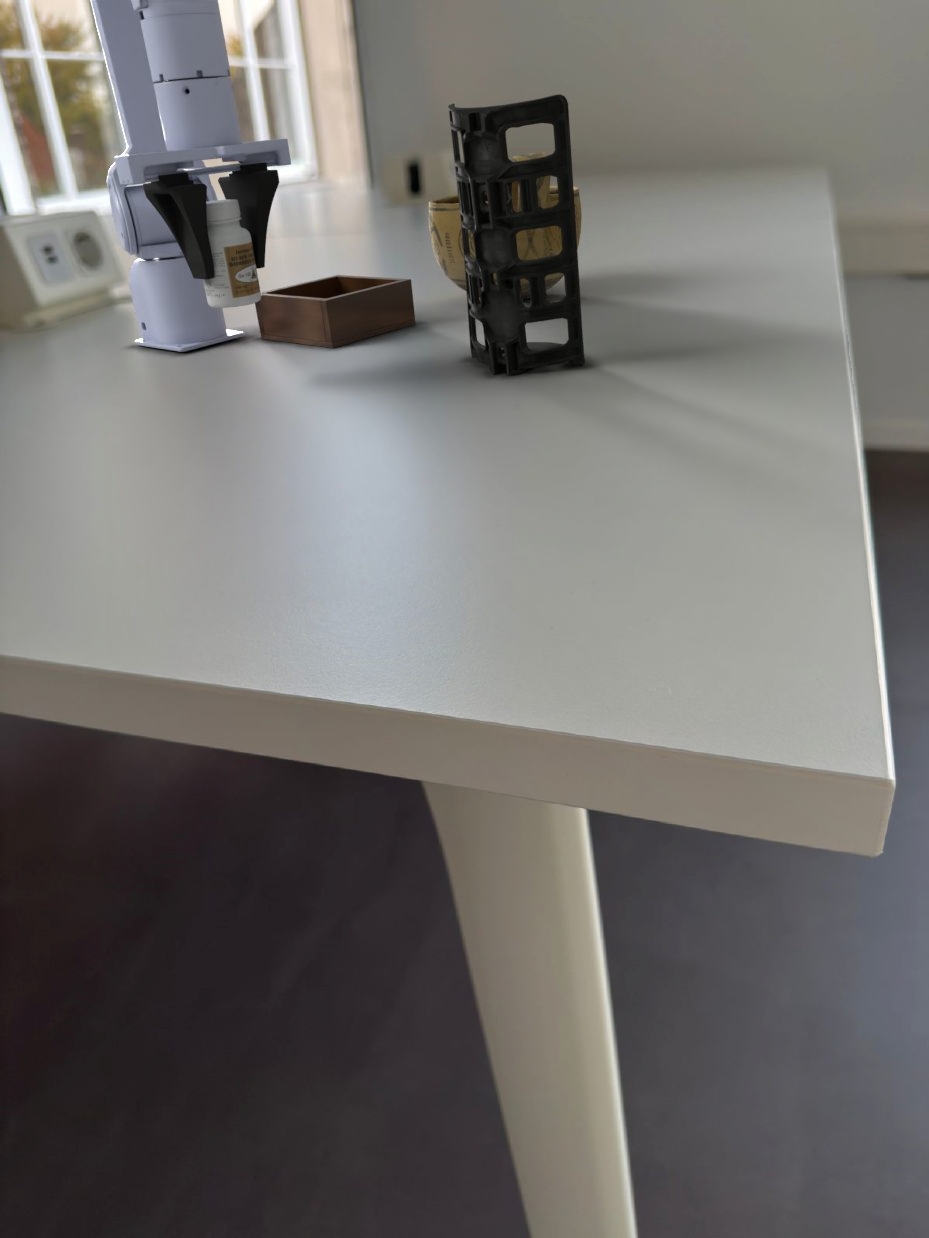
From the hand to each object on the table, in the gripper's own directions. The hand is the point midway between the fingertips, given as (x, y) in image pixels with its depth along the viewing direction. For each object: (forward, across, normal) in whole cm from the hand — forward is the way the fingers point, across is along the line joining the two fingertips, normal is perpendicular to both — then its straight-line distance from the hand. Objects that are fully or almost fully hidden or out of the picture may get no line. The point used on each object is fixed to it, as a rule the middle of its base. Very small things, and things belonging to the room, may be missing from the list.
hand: (229, 273), depth 76 cm
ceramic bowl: (+10, +40, +4) cm, 41 cm away
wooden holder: (+9, +19, +10) cm, 23 cm away
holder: (+10, +15, -18) cm, 25 cm away
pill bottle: (+3, 0, 0) cm, 3 cm away
